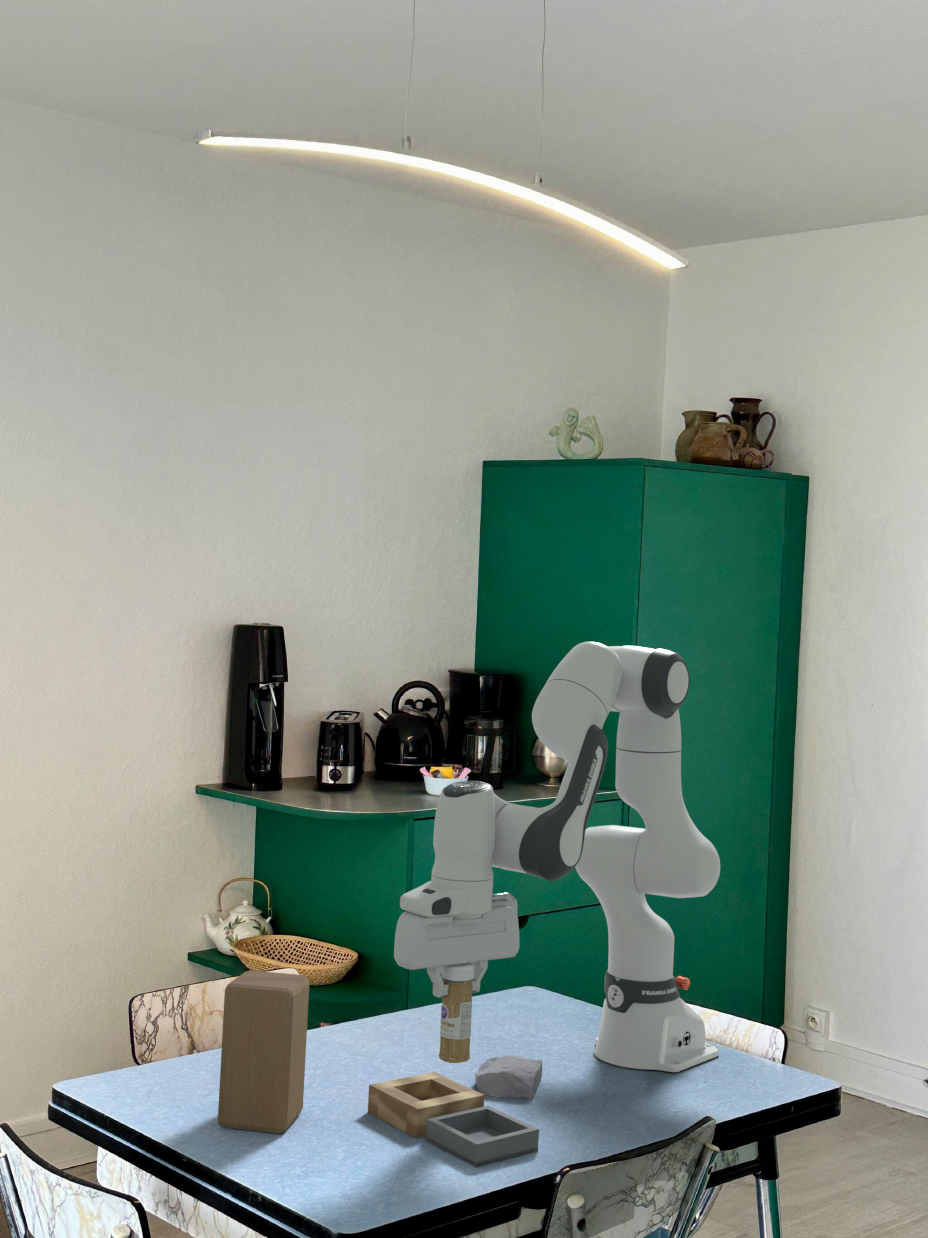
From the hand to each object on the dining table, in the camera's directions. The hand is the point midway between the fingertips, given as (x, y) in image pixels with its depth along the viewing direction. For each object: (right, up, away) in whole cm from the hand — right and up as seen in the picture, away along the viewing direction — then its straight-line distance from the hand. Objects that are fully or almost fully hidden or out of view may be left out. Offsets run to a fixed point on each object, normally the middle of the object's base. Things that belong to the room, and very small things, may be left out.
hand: (456, 994), depth 192 cm
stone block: (+8, -21, +21) cm, 30 cm away
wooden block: (-28, -18, 0) cm, 33 cm away
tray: (+4, -19, -6) cm, 21 cm away
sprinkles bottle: (0, -9, 0) cm, 9 cm away
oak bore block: (-5, -19, +4) cm, 20 cm away
